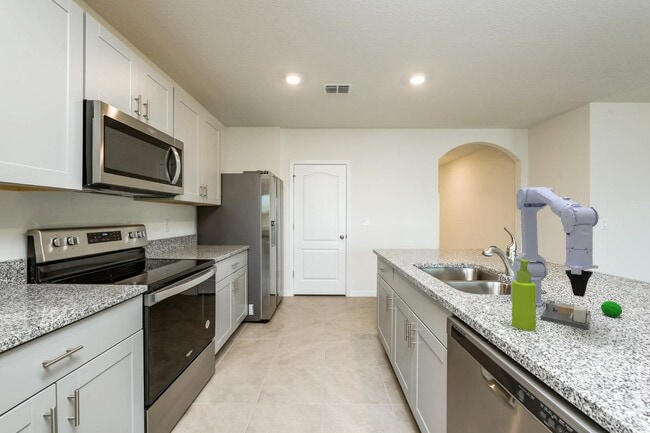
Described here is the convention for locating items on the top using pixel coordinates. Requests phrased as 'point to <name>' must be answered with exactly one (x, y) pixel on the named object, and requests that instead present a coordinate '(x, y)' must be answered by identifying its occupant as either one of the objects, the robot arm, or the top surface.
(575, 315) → the latch
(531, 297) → the soap dispenser
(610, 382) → the top surface
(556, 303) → the grey flat bar
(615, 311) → the polyhedron
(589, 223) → the robot arm
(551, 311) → the mount board
